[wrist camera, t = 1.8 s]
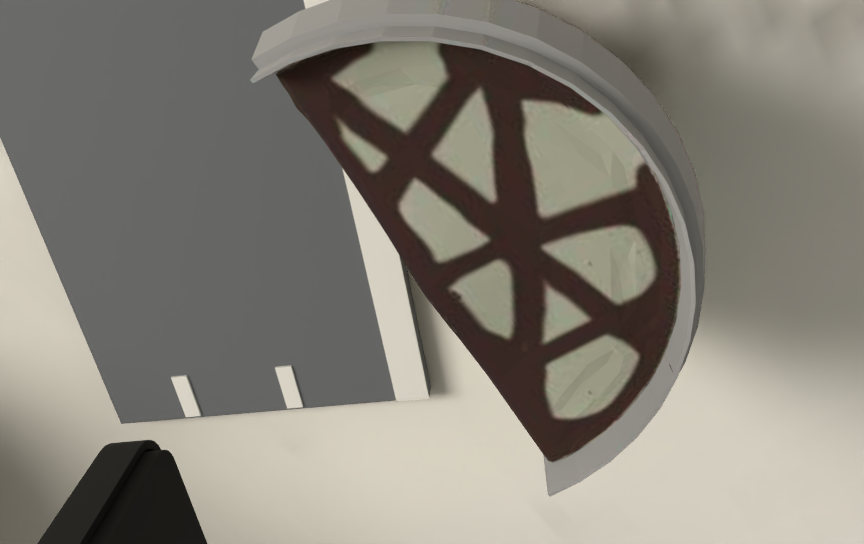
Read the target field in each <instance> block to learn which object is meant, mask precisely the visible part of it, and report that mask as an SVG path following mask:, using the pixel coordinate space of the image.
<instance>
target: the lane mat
mask: <svg viewBox="0 0 864 544" xmlns="http://www.w3.org/2000/svg"><path fill="white" fill-rule="evenodd" d="M326 1H329V0H0V138H1V140H2V142H3V145H4V147H5V149H6V152H7V154H8V157H9V159H10V161H11V164H12V166H13V168H14V171H15V173H16V175H17V178H18V180H19V183H20V185H21V187H22V190H23V192H24V194H25V197H26V199H27V201H28V204H29V206H30V209H31V211H32V213H33V216H34V218H35V220H36V223H37V225H38V228H39V230H40V232H41V235H42V237H43V239H44V242H45V244H46V246H47V249H48V251H49V254H50V256H51V258H52V261H53V263H54V265H55V268H56V270H57V273H58V275H59V277H60V280H61V282H62V284H63V287H64V289H65V291H66V294H67V296H68V299H69V301H70V303H71V306H72V308H73V310H74V313H75V315H76V317H77V320H78V322H79V325H80V327H81V329H82V332H83V334H84V336H85V339H86V341H87V344H88V346H89V348H90V351H91V353H92V355H93V358H94V360H95V362H96V365H97V367H98V370H99V372H100V374H101V377H102V379H103V381H104V384H105V386H106V389H107V391H108V393H109V396H110V398H111V400H112V403H113V405H114V407H115V410H116V412H117V415H118V417H119V419H120V422H121V424H124V423H135V422H147V421H159V420H171V419H182V418H194V417H206V416H218V415H229V414H241V413H253V412H265V411H276V410H288V409H300V408H311V407H323V406H335V405H347V404H358V403H370V402H382V401H394V400H396V402H397V401H409V400H421V399H429V396H430V389H431V386H430V381H429V377H428V372H427V367H426V362H425V357H424V352H423V348H422V343H421V338H420V333H419V328H418V323H417V319H416V314H415V309H414V304H413V299H412V294H411V289H410V285H409V280H408V275H407V270H406V265H405V263H404V262H403V260H402V259H401V257H400V255H399V254H398V252H397V251H396V249H395V247H394V246H393V244H392V242H391V241H390V239H389V238H388V236H387V234H386V233H385V231H384V230H383V228H382V226H381V225H380V223H379V222H378V220H377V219H376V217H375V216H374V214H373V213H372V211H371V210H370V208H369V207H368V205H367V204H366V202H365V201H364V199H363V198H362V196H361V195H360V193H359V192H358V190H357V189H356V187H355V186H354V184H353V183H352V181H351V180H350V178H349V177H348V175H347V174H346V172H345V171H344V170H343V168H342V167H341V165H340V164H339V162H338V161H337V159H336V158H335V156H334V155H333V154H332V152H331V151H330V149H329V148H328V146H327V145H326V143H325V142H324V140H323V139H322V138H321V137H320V135H319V134H318V133H317V131H316V130H315V129H314V127H313V126H312V125H311V123H310V122H309V121H308V120H307V119H306V118H305V116H304V115H303V114H302V113H301V112H300V111H299V110H298V109H297V108H296V106H295V104H294V103H293V101H292V99H291V97H290V95H289V93H288V92H287V91H286V89H285V88H284V87H283V85H282V84H281V82H280V81H279V79H278V77H277V76H276V73H274V74H272V75H270V76H268V77H266V78H264V79H261V80H259V81H257V82H255V83H252V82H251V80H250V79H251V78H252V77H253V76H254V75H255V73H256V72H257V71H258V70H259V69H258V67H257V66H256V65H255V64H254V62H253V61H252V57H253V54H254V52H255V49H256V47H257V45H258V42H259V40H260V37H261V35H262V33H263V31H265V30H267V29H269V28H270V27H272V26H274V25H276V24H277V23H279V22H281V21H283V20H284V19H286V18H288V17H290V16H292V15H293V14H295V13H297V12H299V11H301V10H304V9H307V8H309V7H312V6H315V5H318V4H321V3H323V2H326Z"/></svg>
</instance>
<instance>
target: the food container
mask: <svg viewBox="0 0 864 544" xmlns="http://www.w3.org/2000/svg"><path fill="white" fill-rule="evenodd" d="M252 61H253V62H254V64H255V65H256V66H257V67H258V69H259V70H258V71H257V72H256V73H255V75H254V76H253V77H252V78H251V79H250V80H251V82H252V83H255V82H257V81H259V80H261V79H264V78H266V77H268V76H270V75H272V74H274V73H276V76H277V77H278V79H279V81H280V82H281V84H282V85H283V87H284V88H285V89H286V91H287V92H288V93H289V95H290V97H291V99H292V101H293V103H294V104H295V106H296V108H297V109H298V110H299V111H300V112H301V113H302V114H303V115H304V116H305V118H306V119H307V120H308V121H309V122H310V123H311V125H312V126H313V127H314V129H315V130H316V131H317V133H318V134H319V135H320V137H321V138H322V139H323V140H324V142H325V143H326V145H327V146H328V148H329V149H330V151H331V152H332V154H333V155H334V156H335V158H336V159H337V161H338V162H339V164H340V165H341V167H342V168H343V170H344V171H345V172H346V174H347V175H348V177H349V178H350V180H351V181H352V183H353V184H354V186H355V187H356V189H357V190H358V192H359V193H360V195H361V196H362V198H363V199H364V201H365V202H366V204H367V205H368V207H369V208H370V210H371V211H372V213H373V214H374V216H375V217H376V219H377V220H378V222H379V223H380V225H381V226H382V228H383V230H384V231H385V233H386V234H387V236H388V238H389V239H390V241H391V242H392V244H393V246H394V247H395V249H396V251H397V252H398V254H399V255H400V257H401V259H402V260H403V262H404V263H405V265H406V266H407V268H408V270H409V271H410V273H411V274H412V276H413V277H414V279H415V280H416V282H417V284H418V285H419V287H420V288H421V290H422V291H423V293H424V295H425V296H426V298H427V299H428V300H429V301H430V303H431V304H432V305H433V306H434V308H435V309H436V310H437V312H438V313H439V314H440V315H441V317H442V318H443V319H444V321H445V322H446V323H447V324H448V326H449V327H450V328H451V329H452V330H453V332H454V333H455V334H456V335H457V336H458V338H459V339H460V340H461V341H462V343H463V344H464V345H465V347H466V348H467V349H468V350H469V352H470V353H471V354H472V356H473V357H474V358H475V360H476V361H477V362H478V363H479V365H480V366H481V367H482V369H483V370H484V371H485V373H486V374H487V375H488V377H489V378H490V379H491V381H492V382H493V384H494V385H495V386H496V388H497V389H498V391H499V392H500V394H501V395H502V396H503V398H504V399H505V401H506V402H507V403H508V405H509V406H510V408H511V409H512V410H513V412H514V413H515V415H516V416H517V418H518V419H519V420H520V422H521V423H522V425H523V426H524V427H525V429H526V430H527V432H528V433H529V435H530V436H531V437H532V439H533V440H534V442H535V443H536V444H537V446H538V447H539V449H540V450H541V451H542V453H543V455H544V463H545V472H546V481H547V490H548V495H549V496H552V495H554V494H556V493H558V492H560V491H562V490H564V489H566V488H568V487H571V486H573V485H575V484H577V483H579V482H581V481H582V480H584V479H585V478H587V477H588V476H590V475H591V474H593V473H594V472H596V471H597V470H599V469H600V468H602V467H603V466H605V465H606V464H608V463H609V462H611V461H612V460H613V459H614V458H615V457H616V456H617V455H618V454H619V453H620V452H622V451H623V450H624V449H625V448H626V447H627V446H628V445H629V444H630V443H631V442H633V441H634V440H635V439H636V438H637V437H638V436H639V434H640V433H641V432H642V431H643V429H644V428H645V427H646V426H647V424H648V423H649V422H650V421H651V419H652V418H653V417H654V416H655V414H656V413H657V412H658V411H659V409H660V408H661V406H662V404H663V403H664V401H665V399H666V397H667V395H668V394H669V392H670V390H671V388H672V386H673V385H674V383H675V381H676V379H677V377H678V375H679V372H680V371H681V369H682V367H683V365H684V363H685V361H686V358H687V356H688V353H689V350H690V347H691V344H692V341H693V339H694V336H695V333H696V330H697V327H698V322H699V316H700V310H701V304H702V297H703V291H704V274H705V234H704V212H703V208H702V203H701V198H700V194H699V189H698V184H697V180H696V175H695V172H694V169H693V167H692V165H691V162H690V160H689V157H688V155H687V153H686V150H685V148H684V145H683V143H682V140H681V138H680V136H679V133H678V132H677V130H676V129H675V127H674V126H673V124H672V122H671V121H670V119H669V118H668V116H667V115H666V113H665V112H664V110H663V108H662V107H661V105H660V104H659V102H658V101H657V99H656V98H655V96H654V95H653V94H652V93H651V92H650V91H649V89H648V88H647V87H646V86H645V85H644V84H643V83H642V82H641V81H640V80H639V79H638V78H637V77H636V75H635V74H634V73H633V72H632V71H631V70H630V69H629V68H628V67H627V66H626V65H625V64H624V62H623V61H621V60H620V59H619V58H617V57H616V56H615V55H613V54H612V53H611V52H610V51H608V50H607V49H606V48H604V47H603V46H602V45H600V44H599V43H598V42H596V41H595V40H594V39H592V38H591V37H590V36H589V35H587V34H586V33H585V32H583V31H581V30H579V29H577V28H575V27H573V26H572V25H570V24H568V23H566V22H564V21H562V20H560V19H558V18H556V17H554V16H552V15H551V14H549V13H547V12H545V11H543V10H541V9H539V8H535V7H532V6H529V5H526V4H523V3H520V2H517V1H514V0H329V1H326V2H323V3H321V4H318V5H315V6H312V7H309V8H307V9H304V10H301V11H299V12H297V13H295V14H293V15H292V16H290V17H288V18H286V19H284V20H283V21H281V22H279V23H277V24H276V25H274V26H272V27H270V28H269V29H267V30H265V31H263V33H262V35H261V37H260V40H259V42H258V45H257V47H256V49H255V52H254V54H253V57H252Z"/></svg>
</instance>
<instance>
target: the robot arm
mask: <svg viewBox="0 0 864 544" xmlns="http://www.w3.org/2000/svg"><path fill="white" fill-rule="evenodd" d="M38 544H207V542H206V539H205V537H204V534H203V532H202V529H201V527H200V524H199V521H198V519H197V516H196V514H195V511H194V509H193V506H192V503H191V501H190V498H189V496H188V493H187V491H186V488H185V485H184V483H183V480H182V478H181V475H180V473H179V470H178V467H177V465H176V462H175V460H174V458H173V456H172V454H171V453H170V452H169V451H167V450H161V449H160V447H159V445H158V444H157V443H156V442H154V441H151V440H143V441H132V442H121V443H111V444H108V445H106V446H105V447H104V448H103V449H102V450H101V451H100V452H99V454H98V455H97V457H96V458H95V460H94V461H93V463H92V464H91V466H90V467H89V469H88V470H87V472H86V473H85V474H84V476H83V477H82V479H81V480H80V482H79V483H78V485H77V486H76V488H75V489H74V491H73V492H72V494H71V495H70V497H69V498H68V500H67V501H66V503H65V504H64V505H63V507H62V508H61V510H60V511H59V513H58V514H57V516H56V517H55V519H54V520H53V522H52V523H51V525H50V526H49V528H48V529H47V531H46V532H45V534H44V535H43V536H42V538H41V539H40V541H39V542H38Z"/></svg>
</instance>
